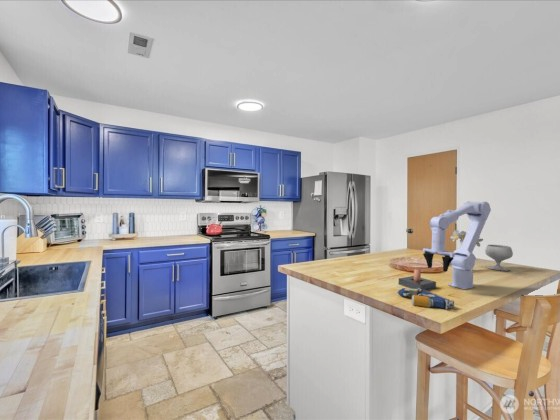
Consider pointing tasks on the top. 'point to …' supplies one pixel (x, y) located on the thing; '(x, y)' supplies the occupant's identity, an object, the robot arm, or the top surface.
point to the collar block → (417, 283)
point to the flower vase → (462, 237)
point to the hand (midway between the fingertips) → (437, 269)
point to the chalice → (498, 255)
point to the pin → (417, 275)
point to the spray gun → (425, 298)
